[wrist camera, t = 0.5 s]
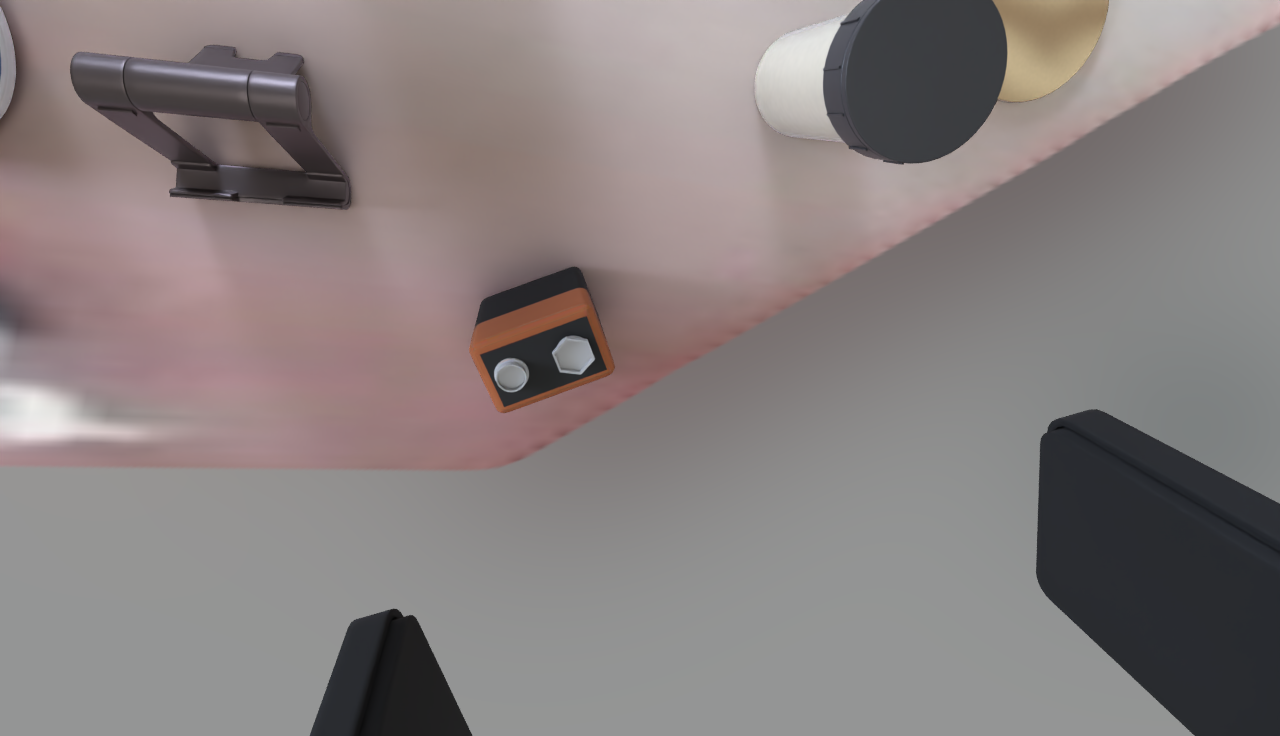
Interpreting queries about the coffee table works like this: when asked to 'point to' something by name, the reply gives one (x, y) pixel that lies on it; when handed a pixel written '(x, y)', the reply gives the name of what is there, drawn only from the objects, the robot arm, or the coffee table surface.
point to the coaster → (1047, 43)
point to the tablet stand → (218, 92)
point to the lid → (914, 76)
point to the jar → (797, 82)
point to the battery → (539, 341)
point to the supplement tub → (6, 65)
